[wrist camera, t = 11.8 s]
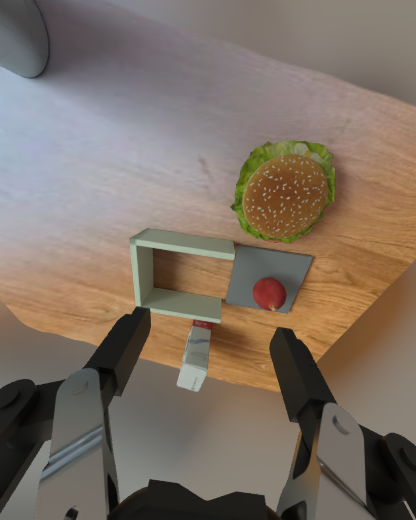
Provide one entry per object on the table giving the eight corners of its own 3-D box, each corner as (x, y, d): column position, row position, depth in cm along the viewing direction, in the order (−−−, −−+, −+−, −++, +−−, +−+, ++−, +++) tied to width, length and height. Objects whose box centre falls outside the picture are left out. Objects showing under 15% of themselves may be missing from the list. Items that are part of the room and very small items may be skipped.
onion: (282, 271, 32) (299, 297, 25) (276, 294, 34) (289, 324, 27) (252, 269, 32) (259, 293, 25) (248, 292, 35) (254, 321, 28)
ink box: (194, 316, 41) (183, 363, 30) (213, 321, 41) (208, 370, 30) (187, 338, 44) (175, 387, 34) (204, 343, 44) (197, 393, 34)
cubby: (149, 290, 38) (136, 309, 32) (147, 228, 32) (129, 238, 26) (220, 301, 38) (220, 323, 32) (233, 241, 31) (234, 254, 25)
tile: (225, 300, 37) (225, 303, 37) (237, 244, 31) (238, 246, 30) (286, 310, 37) (287, 313, 36) (310, 255, 31) (313, 257, 30)
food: (339, 167, 25) (386, 160, 18) (285, 245, 31) (303, 265, 24) (259, 125, 23) (273, 100, 16) (219, 216, 30) (217, 226, 22)
